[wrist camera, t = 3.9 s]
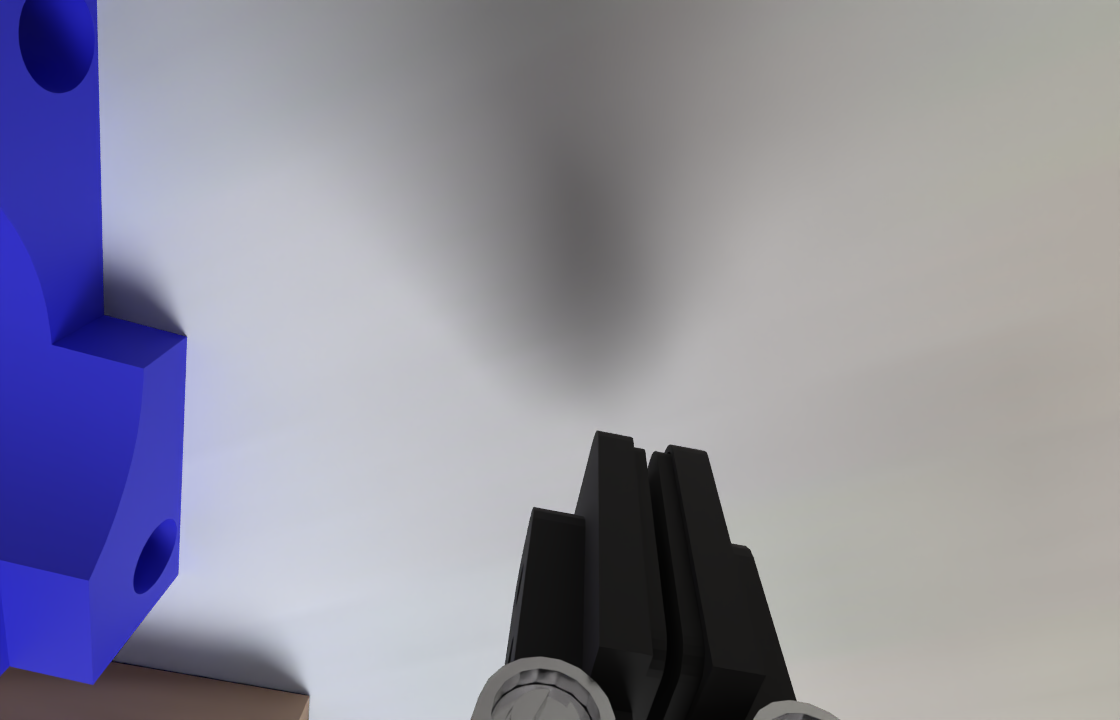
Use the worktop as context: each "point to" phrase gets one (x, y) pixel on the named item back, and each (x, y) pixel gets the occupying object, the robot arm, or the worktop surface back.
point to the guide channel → (141, 697)
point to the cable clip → (73, 374)
